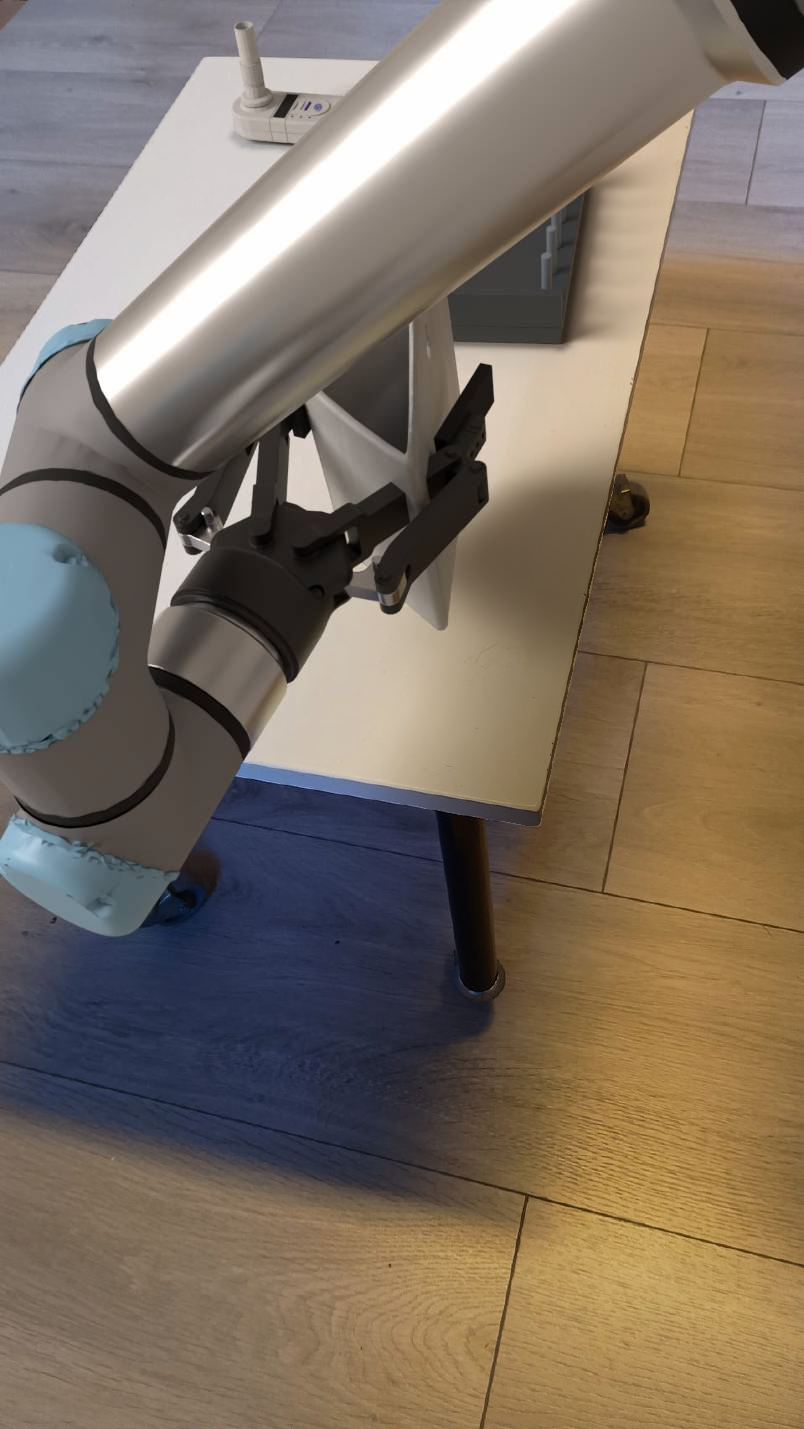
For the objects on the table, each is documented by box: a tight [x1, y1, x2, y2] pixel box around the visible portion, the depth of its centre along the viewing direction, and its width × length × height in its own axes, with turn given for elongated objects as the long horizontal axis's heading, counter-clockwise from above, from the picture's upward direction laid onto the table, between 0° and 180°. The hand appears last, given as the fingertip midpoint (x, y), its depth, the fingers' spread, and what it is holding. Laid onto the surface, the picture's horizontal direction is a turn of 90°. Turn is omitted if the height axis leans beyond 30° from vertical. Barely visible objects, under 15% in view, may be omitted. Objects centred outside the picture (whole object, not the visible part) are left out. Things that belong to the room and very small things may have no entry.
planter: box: [304, 296, 461, 632], centre depth 66 cm, size 16×8×19 cm, turn 174°
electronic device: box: [231, 20, 344, 144], centre depth 106 cm, size 5×10×15 cm
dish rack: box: [447, 191, 586, 345], centre depth 93 cm, size 20×21×6 cm
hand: (414, 366), depth 67 cm, fingers closed on planter, 9 cm apart
